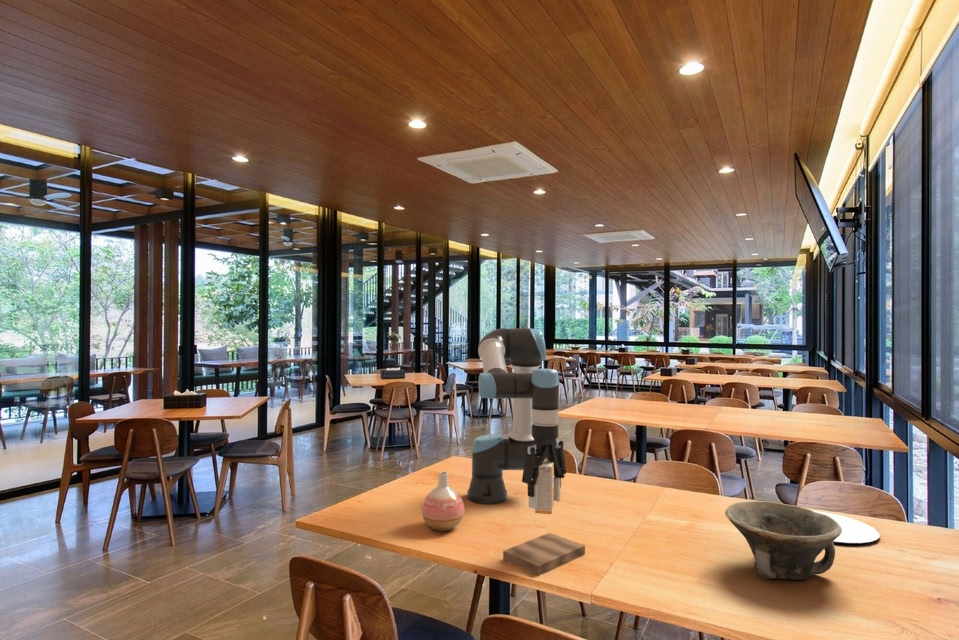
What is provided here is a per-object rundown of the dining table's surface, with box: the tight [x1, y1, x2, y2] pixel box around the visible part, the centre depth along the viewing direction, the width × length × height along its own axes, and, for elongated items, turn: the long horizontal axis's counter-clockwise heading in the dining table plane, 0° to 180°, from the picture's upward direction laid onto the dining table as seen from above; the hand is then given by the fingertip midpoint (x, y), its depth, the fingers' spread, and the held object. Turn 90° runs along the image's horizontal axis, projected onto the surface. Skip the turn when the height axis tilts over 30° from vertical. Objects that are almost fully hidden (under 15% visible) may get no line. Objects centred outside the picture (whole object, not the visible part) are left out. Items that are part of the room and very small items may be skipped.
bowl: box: [724, 500, 842, 581], centre depth 143 cm, size 27×26×15 cm
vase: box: [421, 471, 465, 532], centre depth 174 cm, size 14×14×18 cm
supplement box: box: [534, 459, 555, 515], centre depth 152 cm, size 8×5×13 cm, turn 168°
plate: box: [813, 510, 881, 545], centre depth 175 cm, size 29×29×2 cm
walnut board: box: [502, 532, 586, 577], centre depth 152 cm, size 20×13×2 cm, turn 133°
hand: (544, 504), depth 152 cm, fingers closed on supplement box, 9 cm apart
